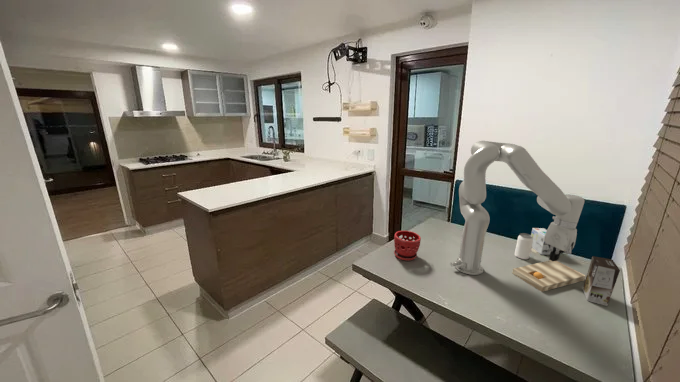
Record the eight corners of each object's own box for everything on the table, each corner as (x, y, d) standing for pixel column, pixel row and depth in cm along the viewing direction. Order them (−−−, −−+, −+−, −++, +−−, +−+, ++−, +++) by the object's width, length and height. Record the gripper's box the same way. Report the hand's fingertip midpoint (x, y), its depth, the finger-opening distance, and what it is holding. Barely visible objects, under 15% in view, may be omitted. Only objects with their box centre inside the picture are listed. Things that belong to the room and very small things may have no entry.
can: (532, 259, 137) (536, 238, 133) (519, 259, 137) (523, 238, 133) (523, 253, 143) (528, 232, 139) (511, 253, 143) (515, 232, 139)
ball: (539, 274, 118) (546, 274, 119) (532, 270, 121) (538, 270, 122) (537, 281, 118) (544, 282, 119) (530, 277, 122) (536, 278, 123)
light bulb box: (553, 255, 141) (558, 236, 138) (540, 255, 141) (545, 236, 138) (540, 245, 151) (544, 227, 148) (527, 245, 151) (531, 227, 148)
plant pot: (408, 265, 132) (410, 244, 128) (388, 255, 142) (389, 234, 138) (424, 257, 140) (426, 236, 136) (403, 247, 149) (405, 227, 146)
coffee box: (608, 306, 104) (620, 270, 99) (586, 300, 107) (597, 265, 103) (602, 293, 111) (613, 259, 107) (581, 288, 115) (592, 255, 110)
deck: (541, 291, 113) (543, 286, 112) (512, 273, 125) (513, 268, 125) (584, 280, 120) (585, 275, 119) (552, 263, 133) (553, 259, 132)
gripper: (541, 216, 122) (531, 252, 127) (578, 231, 108) (564, 270, 114) (553, 215, 124) (542, 250, 129) (590, 229, 110) (576, 268, 116)
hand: (553, 260), depth 121 cm, fingers closed
